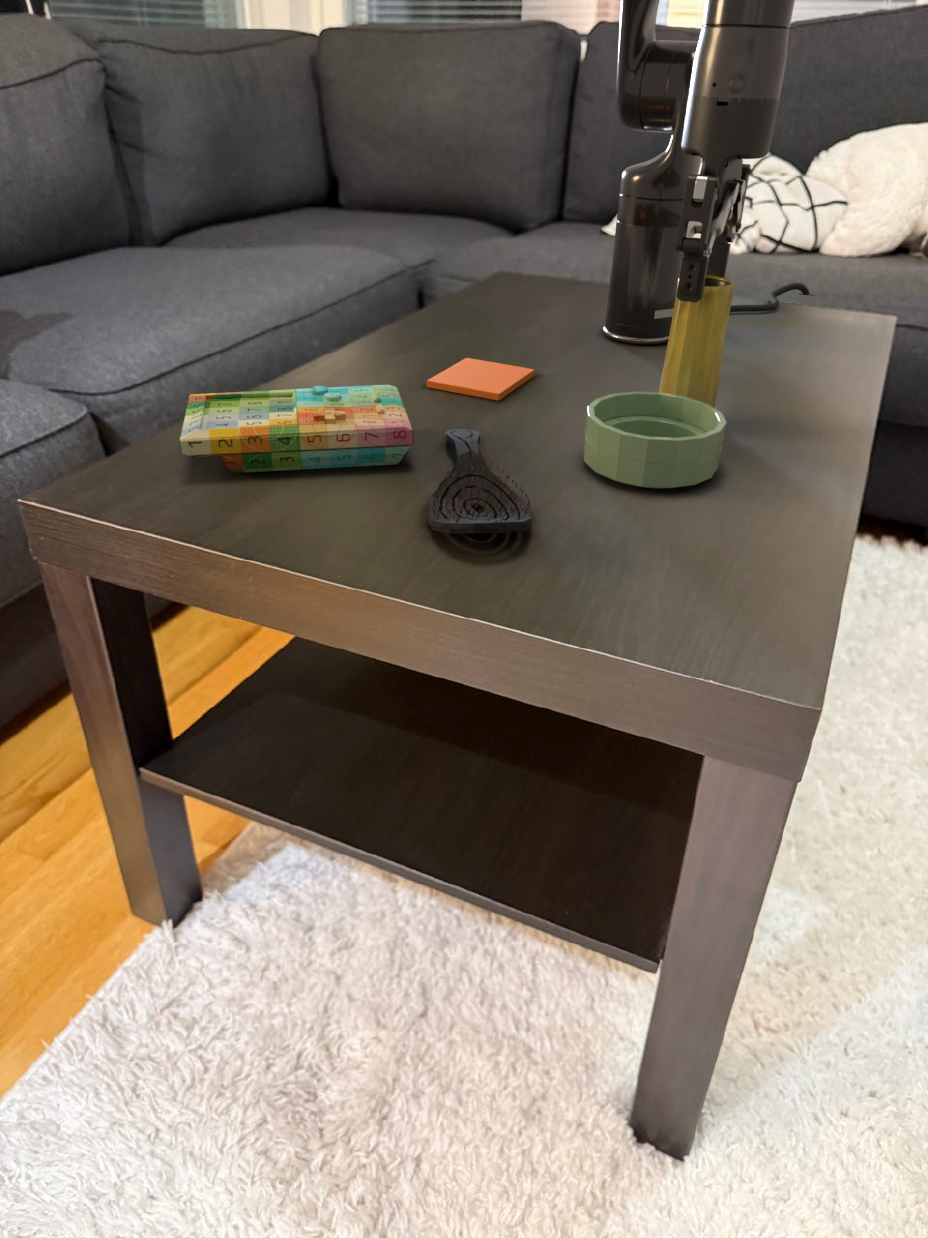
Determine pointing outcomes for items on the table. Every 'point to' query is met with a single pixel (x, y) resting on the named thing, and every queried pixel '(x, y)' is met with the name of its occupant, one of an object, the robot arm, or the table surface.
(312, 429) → the puzzle game
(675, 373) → the vase
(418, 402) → the table surface
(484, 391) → the square tile
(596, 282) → the table surface
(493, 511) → the hairbrush
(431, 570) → the table surface
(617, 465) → the bowl
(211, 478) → the table surface
